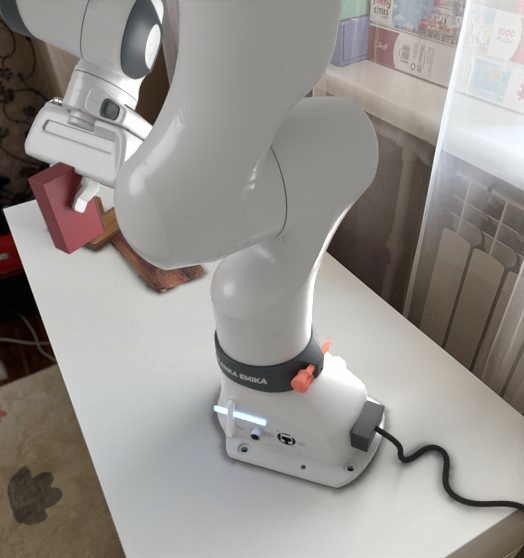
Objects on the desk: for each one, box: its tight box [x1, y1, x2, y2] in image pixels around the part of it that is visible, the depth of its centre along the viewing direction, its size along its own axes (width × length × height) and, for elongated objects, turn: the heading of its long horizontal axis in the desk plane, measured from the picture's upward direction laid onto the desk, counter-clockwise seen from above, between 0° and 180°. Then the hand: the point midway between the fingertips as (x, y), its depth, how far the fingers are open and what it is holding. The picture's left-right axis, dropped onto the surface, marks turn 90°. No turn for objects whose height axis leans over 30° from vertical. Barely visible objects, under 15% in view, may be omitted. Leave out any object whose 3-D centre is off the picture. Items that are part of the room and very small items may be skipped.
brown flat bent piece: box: [111, 232, 205, 294], centre depth 100 cm, size 26×2×10 cm
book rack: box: [82, 195, 121, 253], centre depth 104 cm, size 14×9×5 cm, turn 54°
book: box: [27, 162, 106, 255], centre depth 75 cm, size 3×7×11 cm, turn 144°
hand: (64, 205), depth 75 cm, fingers closed on book, 3 cm apart
